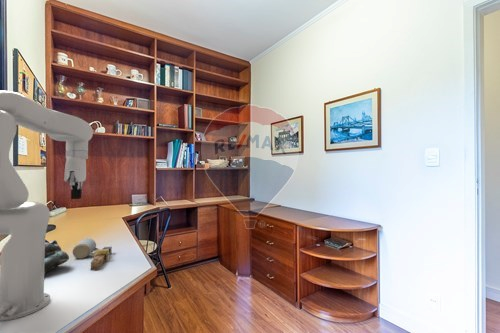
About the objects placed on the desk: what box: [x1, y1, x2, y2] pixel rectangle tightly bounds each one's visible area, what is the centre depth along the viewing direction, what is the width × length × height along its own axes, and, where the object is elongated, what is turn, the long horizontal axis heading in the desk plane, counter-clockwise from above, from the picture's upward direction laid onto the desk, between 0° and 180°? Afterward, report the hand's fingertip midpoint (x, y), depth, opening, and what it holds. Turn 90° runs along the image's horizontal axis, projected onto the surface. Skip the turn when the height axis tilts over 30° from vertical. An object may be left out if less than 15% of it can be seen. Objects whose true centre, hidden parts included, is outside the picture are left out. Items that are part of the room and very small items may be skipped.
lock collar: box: [93, 248, 110, 262], centre depth 105 cm, size 2×5×5 cm, turn 109°
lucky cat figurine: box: [44, 239, 70, 274], centre depth 94 cm, size 15×12×14 cm
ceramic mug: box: [72, 237, 101, 260], centre depth 111 cm, size 11×8×8 cm
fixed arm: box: [90, 247, 105, 271], centre depth 105 cm, size 18×2×3 cm, turn 19°
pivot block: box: [103, 246, 113, 256], centre depth 114 cm, size 3×3×3 cm
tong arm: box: [94, 254, 107, 271], centre depth 103 cm, size 16×1×3 cm, turn 18°
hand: (76, 198), depth 98 cm, fingers closed
